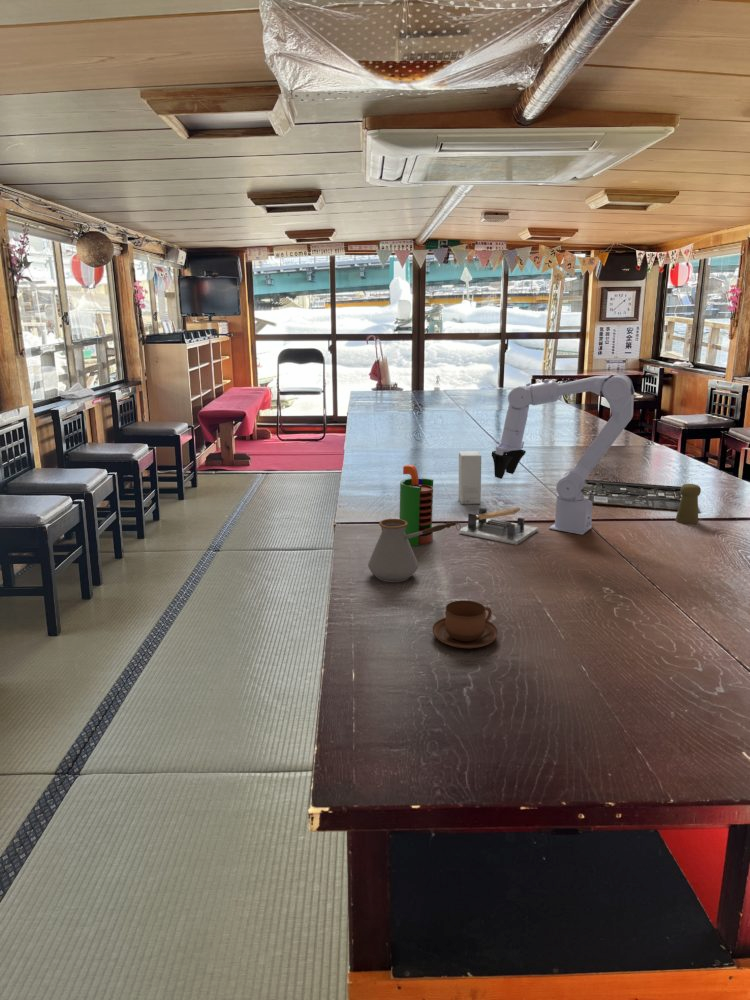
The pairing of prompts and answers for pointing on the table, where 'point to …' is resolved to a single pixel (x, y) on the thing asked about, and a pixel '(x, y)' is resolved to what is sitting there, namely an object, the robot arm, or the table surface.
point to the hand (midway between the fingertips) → (504, 475)
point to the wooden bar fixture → (497, 529)
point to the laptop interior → (633, 495)
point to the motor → (416, 505)
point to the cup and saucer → (465, 625)
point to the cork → (688, 504)
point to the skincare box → (470, 477)
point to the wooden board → (497, 513)
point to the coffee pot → (397, 551)
